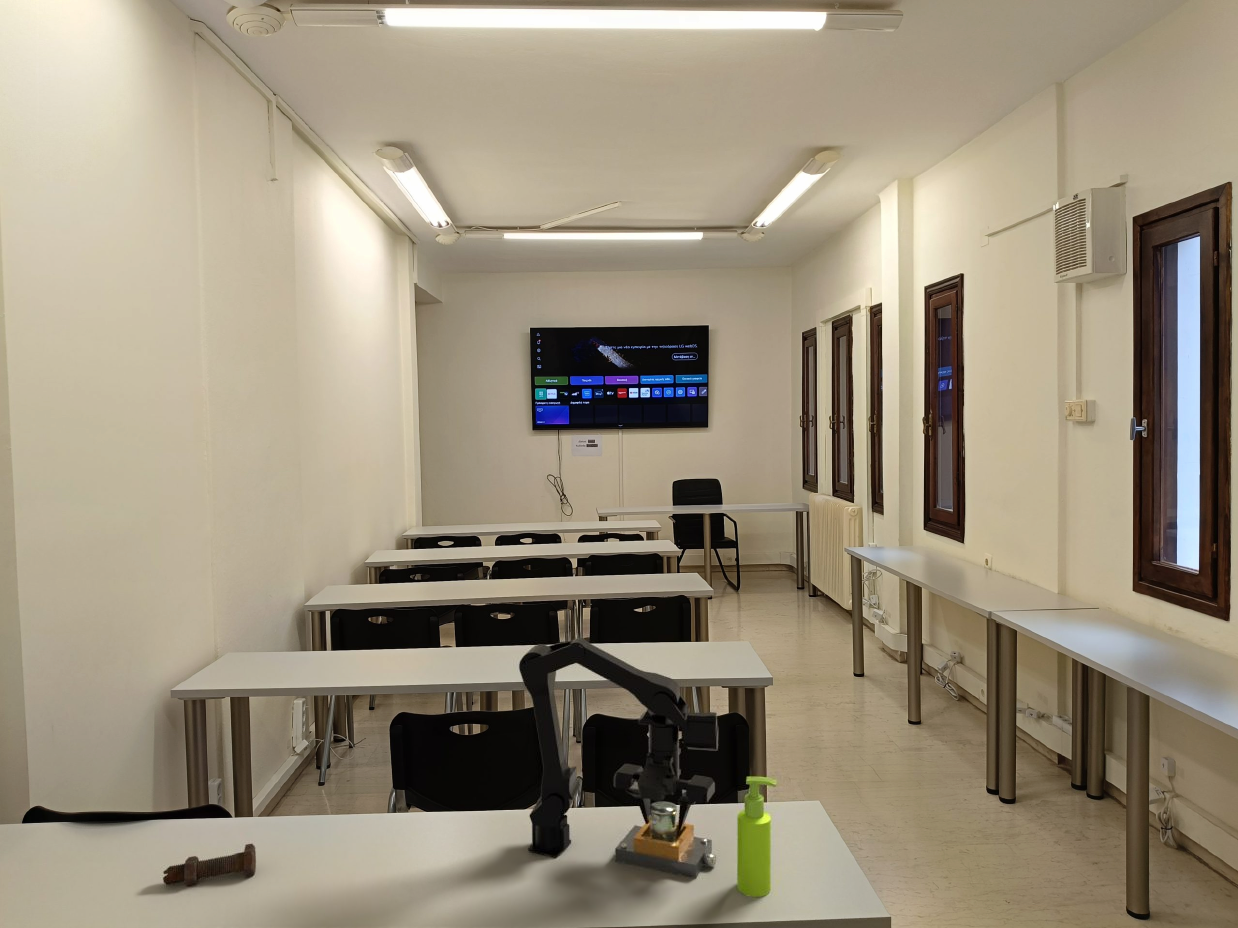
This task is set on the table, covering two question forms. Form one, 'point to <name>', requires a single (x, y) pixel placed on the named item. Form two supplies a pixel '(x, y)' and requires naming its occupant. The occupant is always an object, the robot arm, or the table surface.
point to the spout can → (663, 821)
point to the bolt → (212, 867)
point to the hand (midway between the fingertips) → (663, 826)
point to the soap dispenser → (754, 842)
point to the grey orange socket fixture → (666, 851)
